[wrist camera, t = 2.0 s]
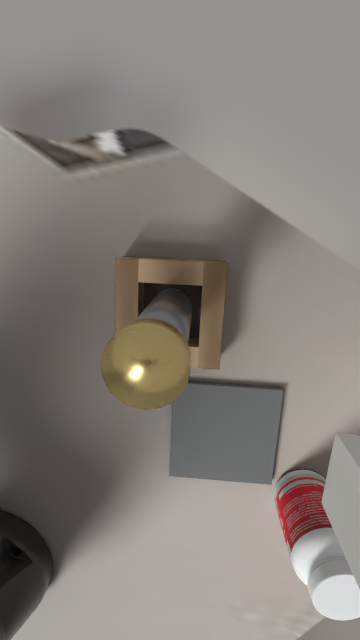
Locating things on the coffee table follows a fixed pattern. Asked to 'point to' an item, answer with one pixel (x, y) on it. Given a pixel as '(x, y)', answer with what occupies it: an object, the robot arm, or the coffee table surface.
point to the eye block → (183, 273)
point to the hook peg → (151, 353)
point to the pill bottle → (315, 545)
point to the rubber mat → (225, 432)
